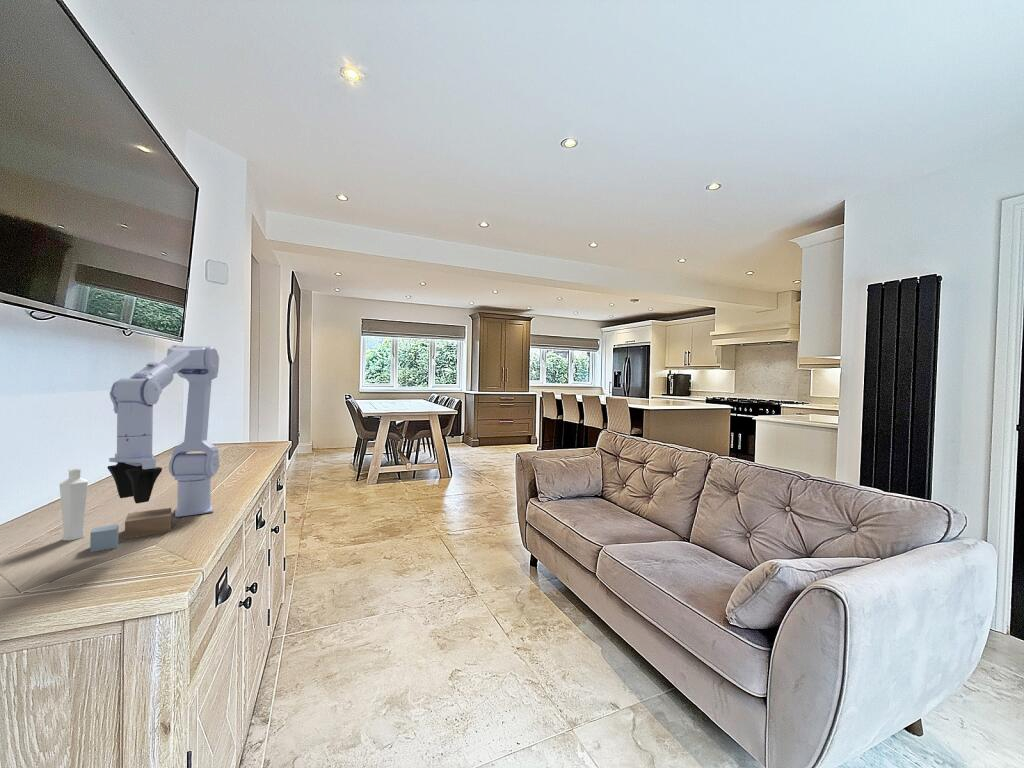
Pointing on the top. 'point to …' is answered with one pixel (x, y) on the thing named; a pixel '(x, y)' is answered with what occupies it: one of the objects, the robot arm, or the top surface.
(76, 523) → the perfume bottle
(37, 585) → the top surface
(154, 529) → the walnut block
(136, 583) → the top surface
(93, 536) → the slate-blue cube
